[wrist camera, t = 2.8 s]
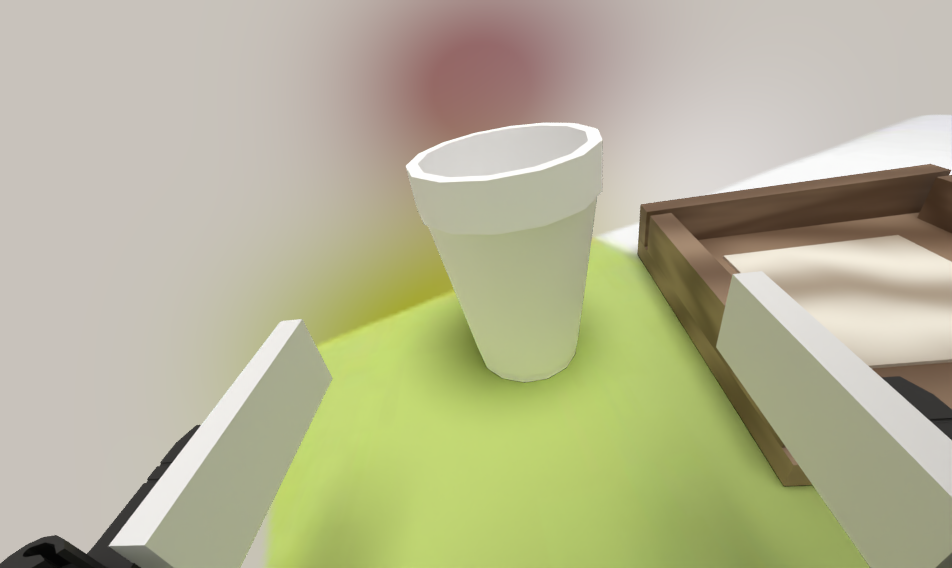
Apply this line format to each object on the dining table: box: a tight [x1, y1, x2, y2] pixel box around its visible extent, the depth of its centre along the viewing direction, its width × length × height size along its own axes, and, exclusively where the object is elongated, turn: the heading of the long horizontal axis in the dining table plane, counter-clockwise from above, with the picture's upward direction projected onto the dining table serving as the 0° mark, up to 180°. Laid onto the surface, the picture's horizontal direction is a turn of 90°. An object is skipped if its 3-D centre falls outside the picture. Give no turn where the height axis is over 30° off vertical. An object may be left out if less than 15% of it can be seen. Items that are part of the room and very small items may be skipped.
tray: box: [638, 164, 952, 486], centre depth 22 cm, size 20×20×4 cm
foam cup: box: [406, 123, 603, 382], centre depth 22 cm, size 10×9×13 cm
